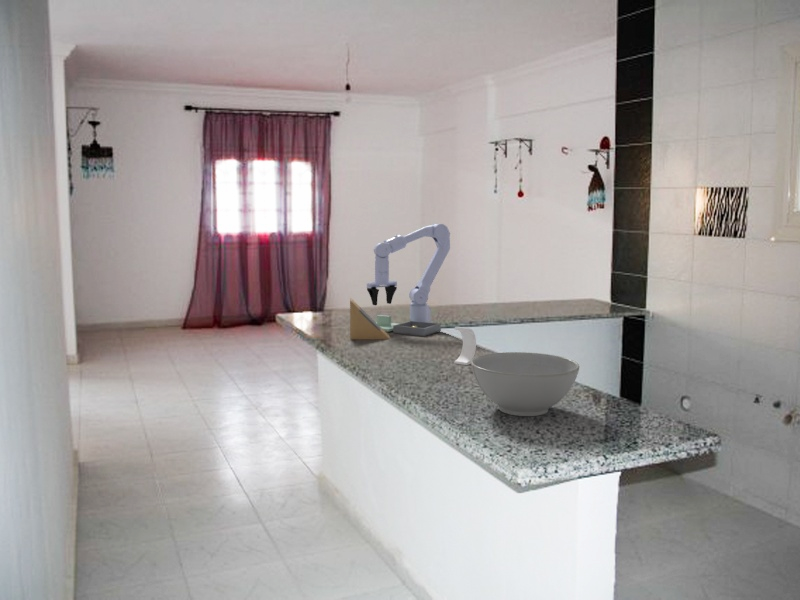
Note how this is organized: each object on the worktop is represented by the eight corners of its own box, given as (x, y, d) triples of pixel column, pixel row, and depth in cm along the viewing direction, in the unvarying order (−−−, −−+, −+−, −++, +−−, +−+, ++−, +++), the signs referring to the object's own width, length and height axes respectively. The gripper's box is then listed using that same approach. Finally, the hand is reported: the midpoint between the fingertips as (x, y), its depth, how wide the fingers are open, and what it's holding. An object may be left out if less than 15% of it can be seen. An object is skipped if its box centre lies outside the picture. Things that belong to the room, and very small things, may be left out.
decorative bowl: (448, 405, 192) (449, 359, 191) (524, 391, 208) (525, 348, 206) (522, 432, 171) (523, 380, 169) (600, 413, 186) (602, 365, 184)
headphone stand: (454, 363, 243) (454, 327, 241) (463, 360, 248) (464, 324, 246) (466, 365, 240) (467, 328, 239) (475, 362, 245) (476, 325, 243)
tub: (410, 328, 311) (410, 320, 310) (440, 330, 304) (440, 323, 303) (393, 333, 299) (393, 325, 298) (424, 336, 292) (424, 328, 291)
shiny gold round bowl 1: (413, 328, 307) (413, 325, 307) (418, 328, 306) (418, 326, 305) (410, 329, 305) (410, 326, 304) (415, 329, 304) (415, 326, 303)
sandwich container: (390, 339, 286) (390, 300, 284) (350, 339, 285) (350, 300, 283) (389, 335, 294) (389, 297, 292) (350, 335, 293) (350, 297, 291)
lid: (379, 324, 318) (379, 312, 318) (407, 327, 311) (407, 315, 310) (360, 329, 307) (360, 316, 306) (388, 332, 299) (388, 319, 298)
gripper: (374, 273, 303) (374, 306, 305) (401, 271, 313) (401, 303, 314) (363, 272, 309) (363, 305, 310) (390, 270, 318) (390, 302, 320)
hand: (381, 304), depth 313 cm, fingers open, 7 cm apart
